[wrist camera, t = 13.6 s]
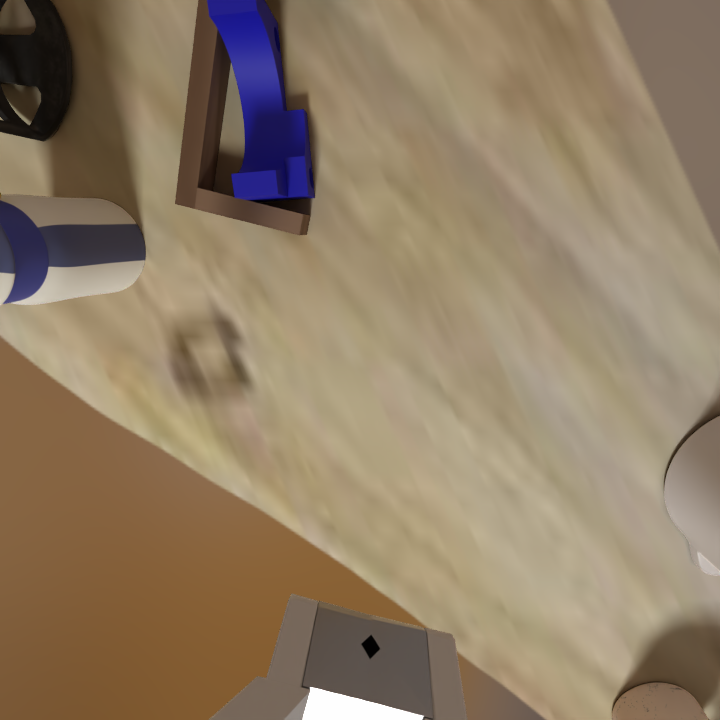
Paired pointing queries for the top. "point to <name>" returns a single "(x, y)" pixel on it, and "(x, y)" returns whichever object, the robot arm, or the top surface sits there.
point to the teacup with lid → (657, 704)
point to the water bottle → (65, 248)
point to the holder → (37, 72)
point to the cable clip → (264, 106)
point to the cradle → (216, 137)
